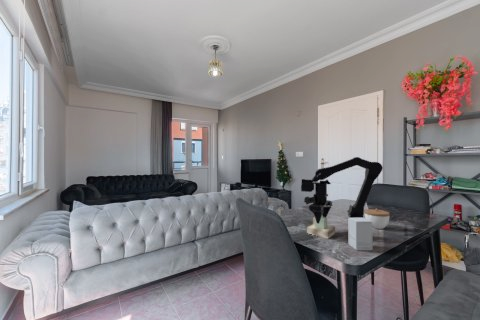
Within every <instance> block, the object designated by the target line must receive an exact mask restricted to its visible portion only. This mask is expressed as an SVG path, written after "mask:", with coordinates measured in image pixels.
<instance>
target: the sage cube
mask: <svg viewBox="0 0 480 320" xmlns="http://www.w3.org/2000/svg"><path fill="white" fill-rule="evenodd" d="M313 218H314V217H313ZM327 225H328V216H327V217H321V220H320V222H319V224H318V223H317V222H316V219H315V218H314V227H317V228H322V229H325V228H326V227H327Z"/></svg>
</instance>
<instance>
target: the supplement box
mask: <svg viewBox="0 0 480 320" xmlns="http://www.w3.org/2000/svg"><path fill="white" fill-rule="evenodd" d="M347 221H348V222H347V223H348V225H347V226H348V229H347V230H348V231H347V232H348V235H347V236H348V242H347V243H348V245H349V246H350V247H351V248H352V249H354V250H356V251H373V228H372V221H370V220H367V219H365V217H363V218H349V217H348V219H347Z"/></svg>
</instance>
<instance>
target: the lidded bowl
mask: <svg viewBox="0 0 480 320" xmlns="http://www.w3.org/2000/svg"><path fill="white" fill-rule="evenodd" d="M364 218H365V219H367V220H370V221H372V229H376V230H384V228H386V227H387V226H388V225H389V223H390V212H389V211H386V210H382V209H378V208H377V207H376V208H375V209H373V208H369V209H364Z"/></svg>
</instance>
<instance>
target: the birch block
mask: <svg viewBox="0 0 480 320" xmlns="http://www.w3.org/2000/svg"><path fill="white" fill-rule="evenodd" d="M307 233H308V234H307ZM306 234H307V235H309V234H312V235H311V236H313V235H316V236H315V237H317V236H319V237H318V238H322V237H323V238H322V239H326V238H327V239H330V238H332V237H333V236H334V235H335V234H336V226H334V225H333V226H332V225H330V224H327V227H326V228H325V229H322V228H317V227H314V224H313V223H312V224H310V225H308V226H307V227H306Z"/></svg>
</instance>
